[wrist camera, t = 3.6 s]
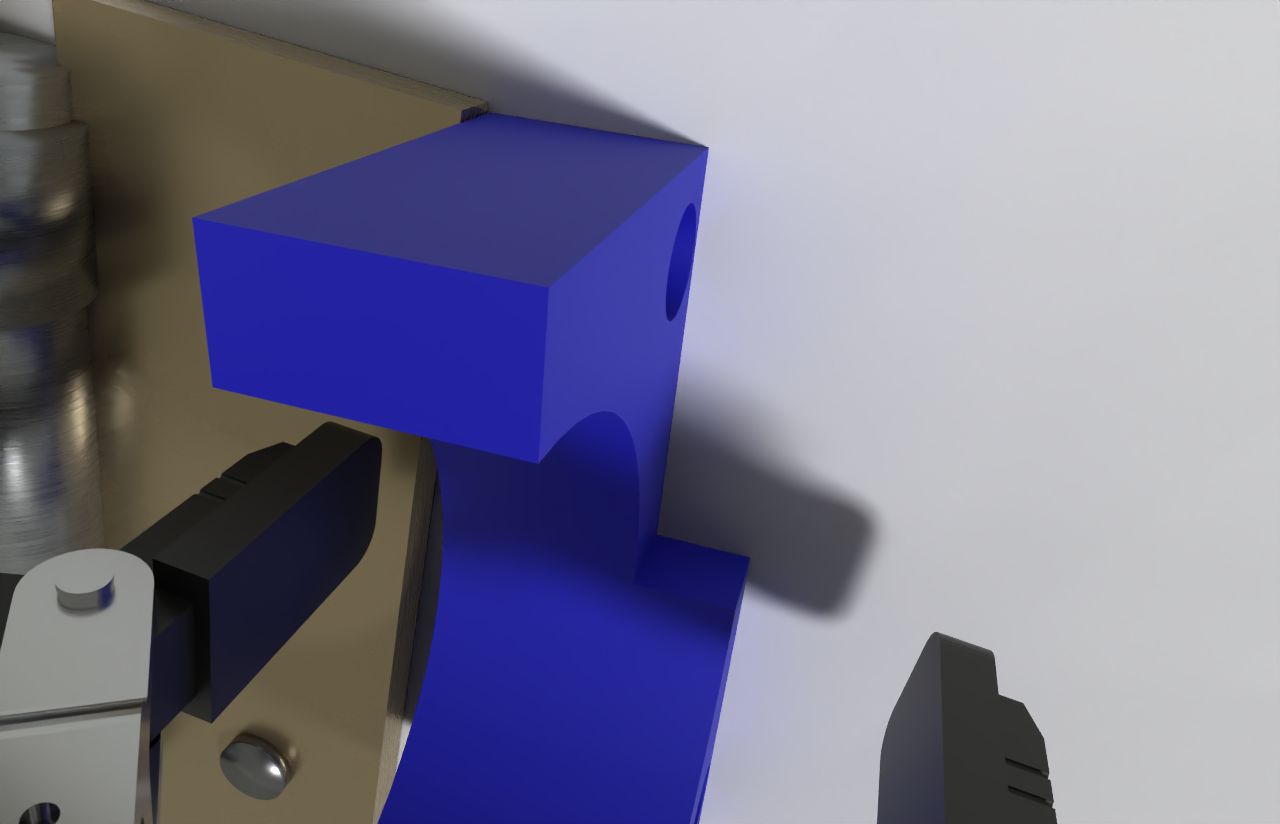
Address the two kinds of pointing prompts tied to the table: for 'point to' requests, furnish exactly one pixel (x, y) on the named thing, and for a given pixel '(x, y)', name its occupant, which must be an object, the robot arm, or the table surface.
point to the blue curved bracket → (510, 444)
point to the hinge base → (193, 365)
